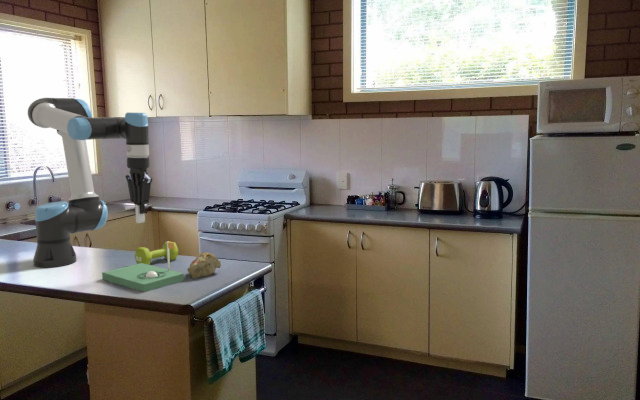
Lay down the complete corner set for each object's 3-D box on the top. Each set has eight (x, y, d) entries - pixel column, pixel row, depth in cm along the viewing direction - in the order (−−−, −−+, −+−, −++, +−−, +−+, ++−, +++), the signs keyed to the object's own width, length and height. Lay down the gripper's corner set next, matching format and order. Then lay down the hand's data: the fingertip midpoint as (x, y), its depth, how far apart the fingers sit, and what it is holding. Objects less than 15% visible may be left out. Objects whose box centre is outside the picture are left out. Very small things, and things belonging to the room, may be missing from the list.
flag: (167, 277, 192) (166, 241, 191) (169, 277, 193) (168, 241, 191) (174, 279, 190) (172, 242, 188) (176, 278, 191) (174, 242, 189)
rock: (199, 290, 193) (190, 270, 188) (185, 281, 199) (176, 260, 194) (224, 271, 200) (216, 250, 194) (211, 262, 205) (203, 242, 200)
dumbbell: (144, 268, 205) (143, 250, 204) (132, 265, 210) (131, 247, 209) (181, 260, 217) (180, 242, 216) (168, 257, 222) (168, 239, 221)
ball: (141, 273, 186) (148, 271, 184) (151, 270, 189) (158, 269, 187) (144, 284, 186) (151, 283, 183) (154, 281, 189) (161, 280, 187)
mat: (102, 279, 190) (102, 272, 190) (141, 269, 203) (141, 262, 203) (144, 292, 176) (143, 284, 176) (183, 280, 189) (183, 273, 189)
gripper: (117, 156, 193) (120, 221, 197) (139, 158, 186) (142, 226, 189) (136, 155, 199) (138, 218, 203) (158, 157, 191) (160, 223, 195)
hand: (140, 222), depth 196 cm, fingers closed
